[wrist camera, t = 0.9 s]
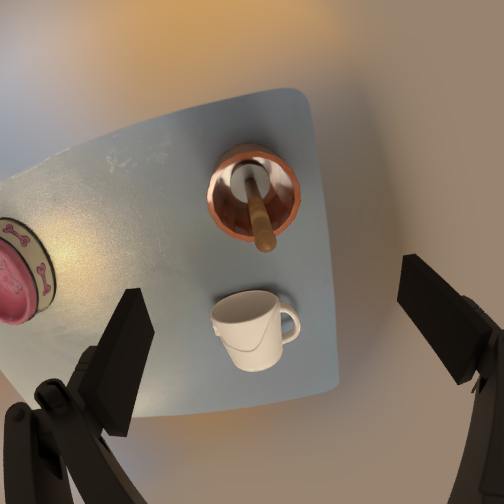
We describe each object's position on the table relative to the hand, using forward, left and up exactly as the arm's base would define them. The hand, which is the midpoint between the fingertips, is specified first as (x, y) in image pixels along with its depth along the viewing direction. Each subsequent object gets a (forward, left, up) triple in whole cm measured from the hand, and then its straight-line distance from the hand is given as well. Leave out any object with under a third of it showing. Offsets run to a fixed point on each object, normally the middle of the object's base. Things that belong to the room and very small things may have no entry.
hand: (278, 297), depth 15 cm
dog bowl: (+8, -42, -28) cm, 51 cm away
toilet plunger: (0, 0, -27) cm, 27 cm away
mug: (+21, -1, -28) cm, 34 cm away
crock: (0, 0, -27) cm, 27 cm away
